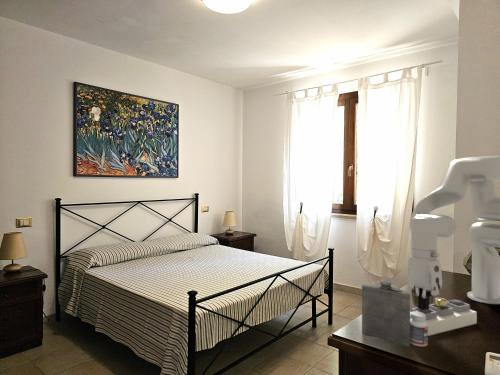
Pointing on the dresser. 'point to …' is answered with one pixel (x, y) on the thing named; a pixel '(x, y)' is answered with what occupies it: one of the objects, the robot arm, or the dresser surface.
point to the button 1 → (424, 311)
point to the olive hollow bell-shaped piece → (415, 298)
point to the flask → (386, 313)
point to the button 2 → (457, 302)
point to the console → (448, 317)
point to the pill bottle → (418, 329)
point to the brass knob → (441, 303)
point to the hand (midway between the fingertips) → (423, 308)
